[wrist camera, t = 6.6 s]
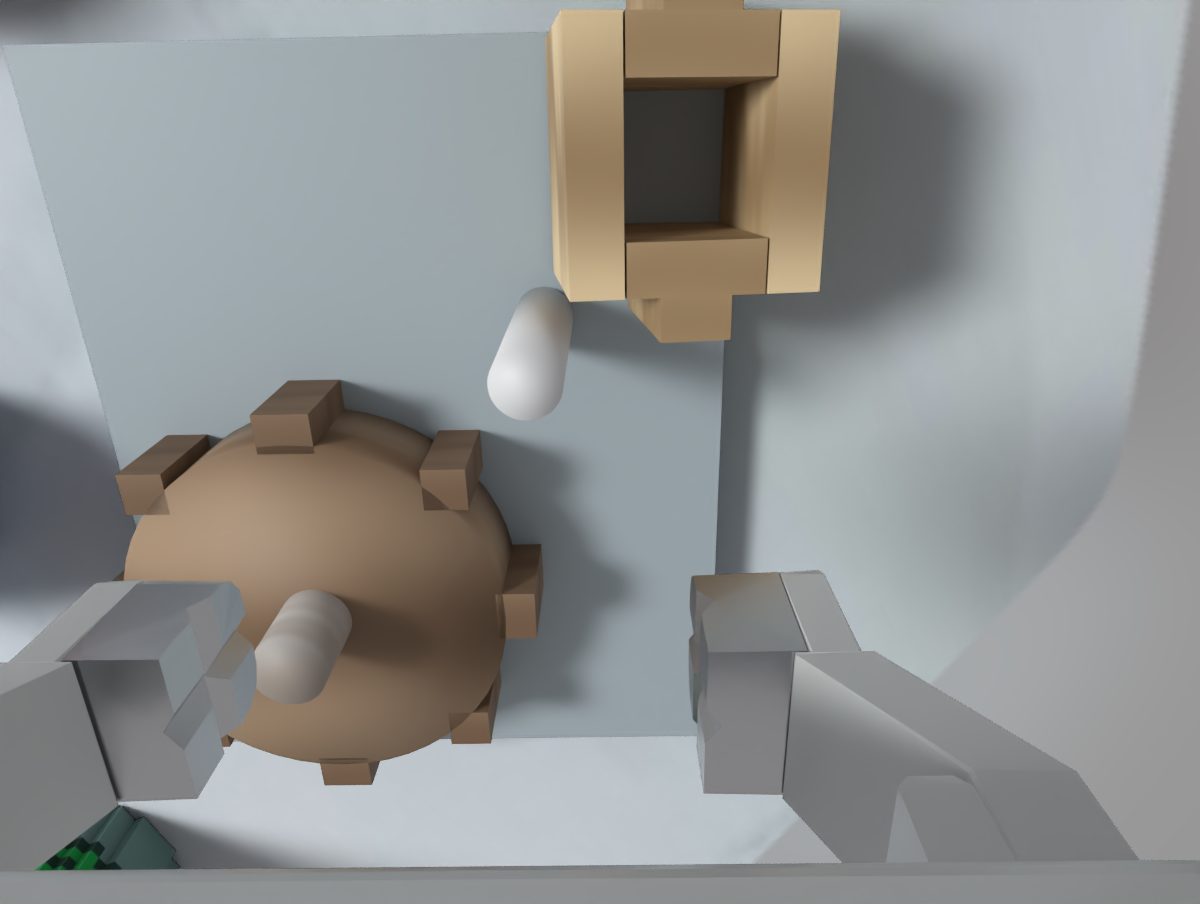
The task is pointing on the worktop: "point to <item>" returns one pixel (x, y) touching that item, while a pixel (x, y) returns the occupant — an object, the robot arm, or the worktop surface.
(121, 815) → the can
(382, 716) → the walnut gear
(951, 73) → the worktop surface
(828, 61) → the oak gear
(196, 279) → the gear board
